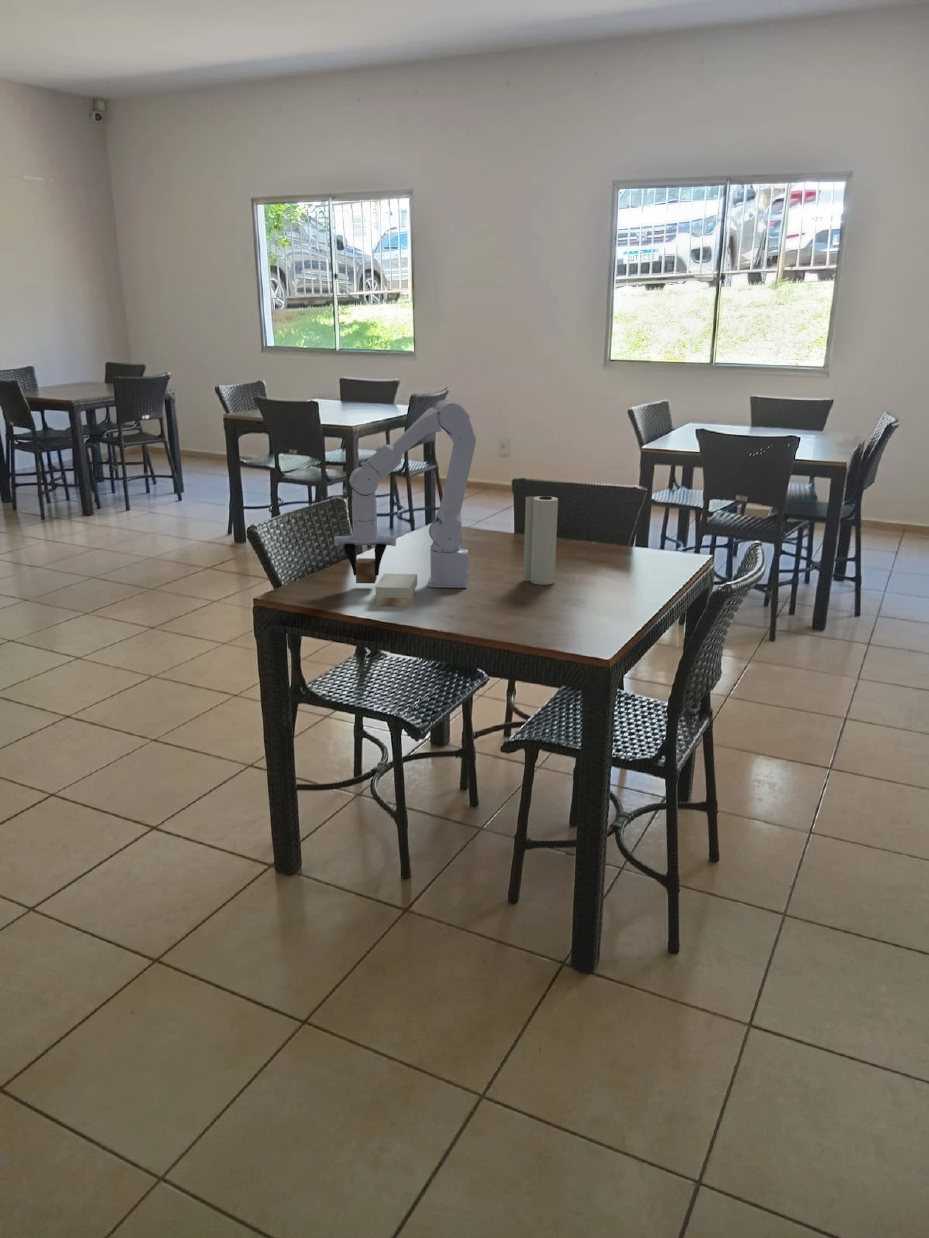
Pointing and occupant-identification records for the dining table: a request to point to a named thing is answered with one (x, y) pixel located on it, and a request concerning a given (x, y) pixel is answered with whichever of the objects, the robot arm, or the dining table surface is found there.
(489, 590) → the dining table surface
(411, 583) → the slab top
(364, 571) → the walnut block
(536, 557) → the paper towel roll
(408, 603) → the slab bottom
